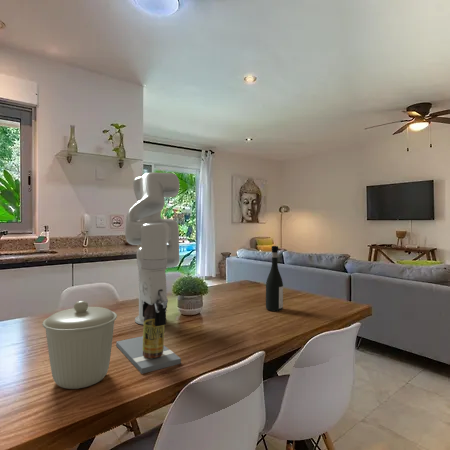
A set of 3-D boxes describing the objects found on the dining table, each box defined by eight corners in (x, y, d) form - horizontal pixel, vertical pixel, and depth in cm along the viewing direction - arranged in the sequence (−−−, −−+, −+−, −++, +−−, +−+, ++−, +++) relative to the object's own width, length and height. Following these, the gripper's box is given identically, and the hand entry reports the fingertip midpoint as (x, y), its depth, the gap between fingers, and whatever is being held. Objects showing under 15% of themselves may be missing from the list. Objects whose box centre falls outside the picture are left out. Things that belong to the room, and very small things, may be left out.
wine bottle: (282, 307, 161) (282, 245, 161) (283, 312, 153) (284, 247, 153) (265, 307, 162) (266, 245, 161) (265, 311, 154) (266, 246, 153)
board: (116, 345, 112) (116, 341, 112) (150, 338, 119) (150, 334, 119) (141, 373, 92) (141, 368, 92) (180, 363, 99) (180, 358, 99)
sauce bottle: (142, 360, 97) (142, 292, 97) (142, 352, 103) (142, 288, 103) (165, 358, 99) (165, 291, 98) (163, 350, 105) (163, 287, 104)
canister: (81, 404, 77) (81, 313, 77) (26, 389, 84) (25, 305, 83) (130, 371, 94) (130, 296, 94) (81, 360, 101) (81, 291, 100)
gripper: (132, 261, 105) (132, 315, 106) (153, 269, 91) (153, 331, 92) (154, 259, 109) (154, 311, 110) (178, 267, 95) (177, 326, 96)
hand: (153, 320), depth 101 cm, fingers open, 9 cm apart
